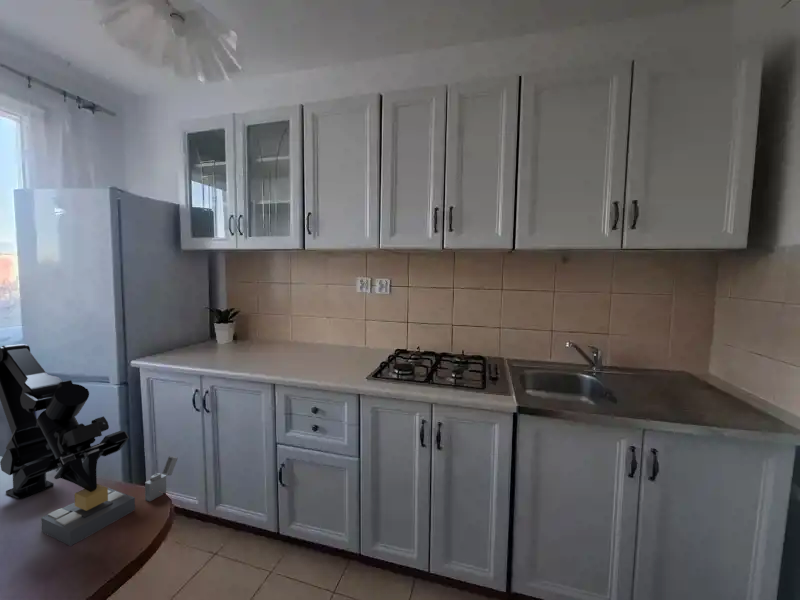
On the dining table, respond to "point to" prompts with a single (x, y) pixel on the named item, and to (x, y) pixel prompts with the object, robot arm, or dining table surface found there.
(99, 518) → the keypad
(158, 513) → the dining table surface
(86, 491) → the key
